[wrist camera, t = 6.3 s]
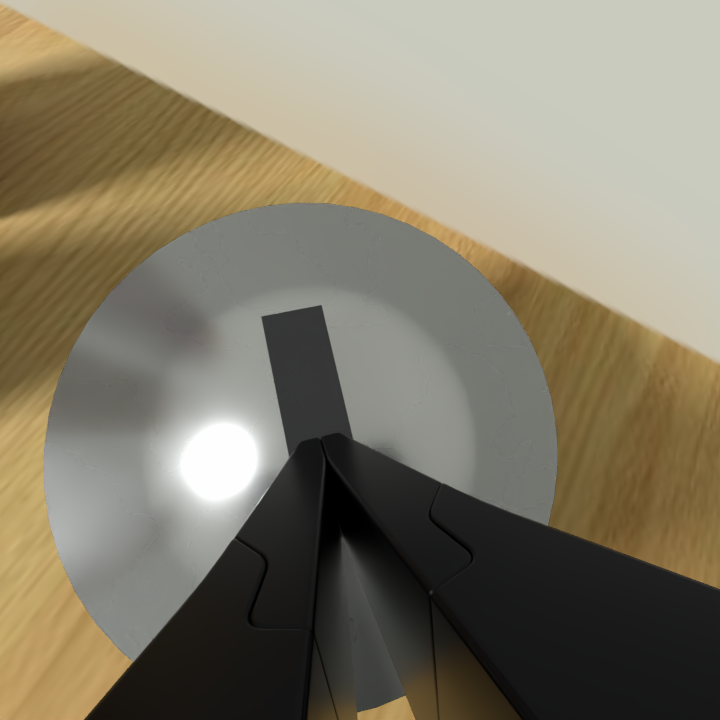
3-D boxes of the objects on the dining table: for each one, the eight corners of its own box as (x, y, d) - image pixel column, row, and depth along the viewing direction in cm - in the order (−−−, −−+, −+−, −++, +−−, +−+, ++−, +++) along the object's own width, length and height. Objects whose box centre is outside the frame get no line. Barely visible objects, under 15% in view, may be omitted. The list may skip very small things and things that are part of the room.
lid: (603, 608, 11) (666, 636, 9) (92, 777, 9) (31, 858, 7) (463, 195, 14) (486, 149, 12) (51, 261, 12) (-1, 219, 10)
